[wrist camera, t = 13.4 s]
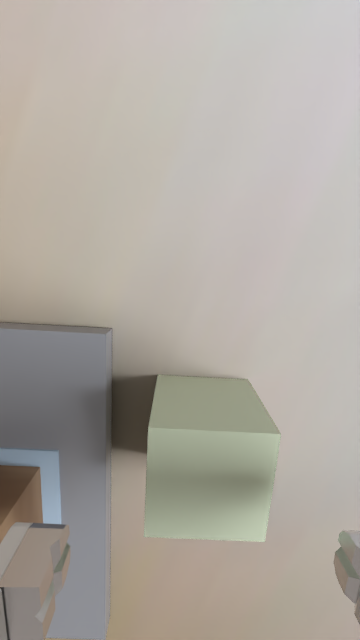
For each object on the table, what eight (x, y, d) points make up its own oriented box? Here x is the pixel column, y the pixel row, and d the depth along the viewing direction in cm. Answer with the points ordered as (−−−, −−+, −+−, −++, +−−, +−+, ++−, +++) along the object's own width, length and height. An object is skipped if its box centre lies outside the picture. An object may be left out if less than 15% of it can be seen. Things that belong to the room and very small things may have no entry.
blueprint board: (112, 328, 14) (105, 334, 13) (110, 615, 18) (104, 641, 17) (-121, 315, 14) (-150, 320, 13) (-71, 609, 18) (-90, 635, 17)
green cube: (247, 379, 15) (281, 433, 10) (238, 457, 16) (264, 542, 11) (157, 374, 15) (148, 427, 10) (154, 453, 16) (143, 536, 11)
